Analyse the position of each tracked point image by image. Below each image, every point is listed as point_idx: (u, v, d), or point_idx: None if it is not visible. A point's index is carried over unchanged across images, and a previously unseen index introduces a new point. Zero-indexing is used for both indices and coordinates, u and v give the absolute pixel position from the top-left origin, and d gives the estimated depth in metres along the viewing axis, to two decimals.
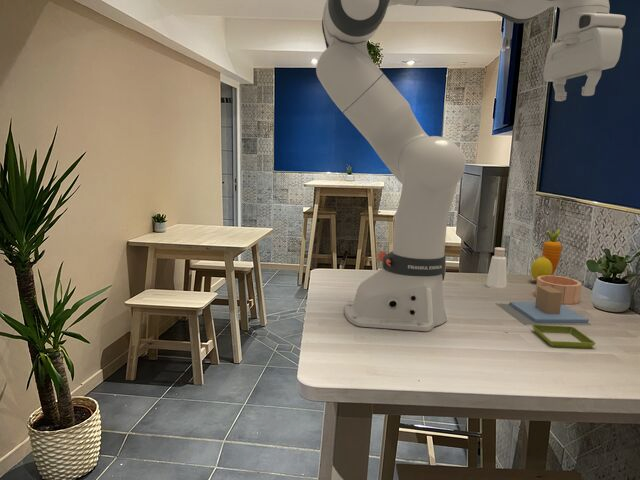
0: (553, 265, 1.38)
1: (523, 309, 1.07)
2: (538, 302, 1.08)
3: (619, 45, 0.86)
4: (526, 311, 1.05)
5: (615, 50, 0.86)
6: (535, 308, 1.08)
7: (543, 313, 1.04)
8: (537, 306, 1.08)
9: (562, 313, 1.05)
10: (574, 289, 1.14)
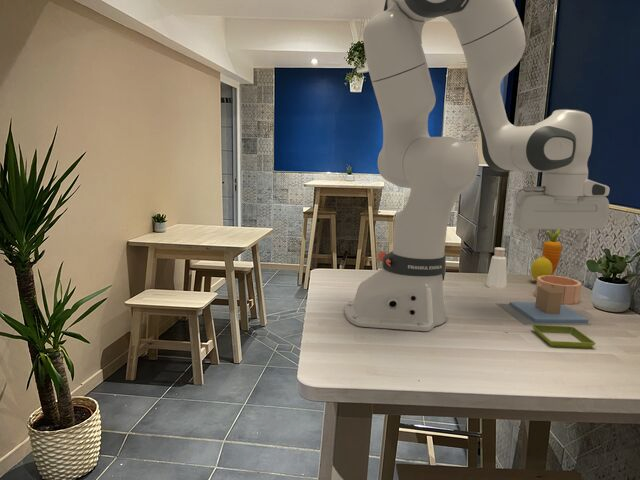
0: (553, 265, 1.38)
1: (523, 309, 1.07)
2: (538, 302, 1.08)
3: None
4: (526, 311, 1.05)
5: None
6: (535, 308, 1.08)
7: (543, 313, 1.04)
8: (537, 306, 1.08)
9: (562, 313, 1.05)
10: (574, 289, 1.14)
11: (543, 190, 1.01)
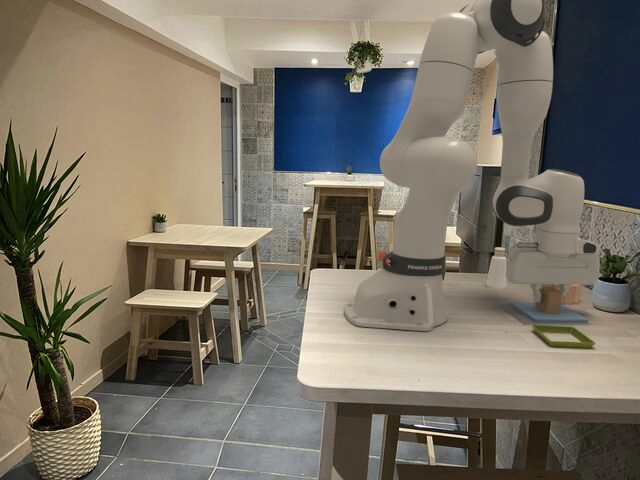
0: None
1: (523, 309, 1.07)
2: None
3: None
4: (526, 311, 1.05)
5: None
6: (535, 308, 1.08)
7: (543, 313, 1.04)
8: (537, 306, 1.08)
9: (562, 313, 1.05)
10: (574, 289, 1.14)
11: (536, 247, 1.03)
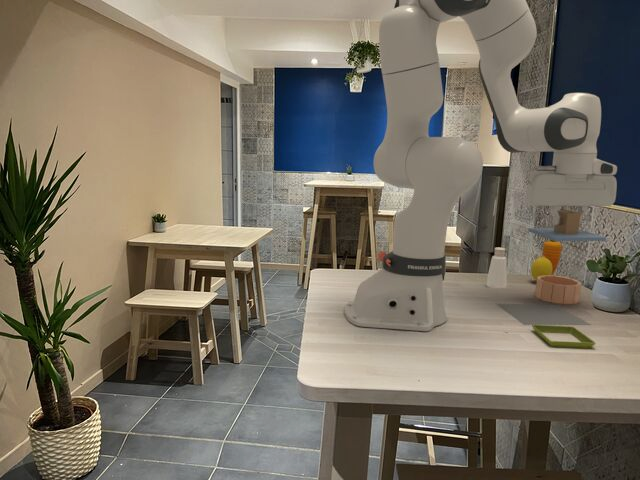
0: (553, 265, 1.38)
1: (542, 232, 1.11)
2: (557, 225, 1.12)
3: None
4: (545, 233, 1.10)
5: None
6: (554, 231, 1.12)
7: (562, 234, 1.09)
8: (556, 230, 1.12)
9: (580, 234, 1.09)
10: (574, 289, 1.14)
11: (554, 169, 1.07)
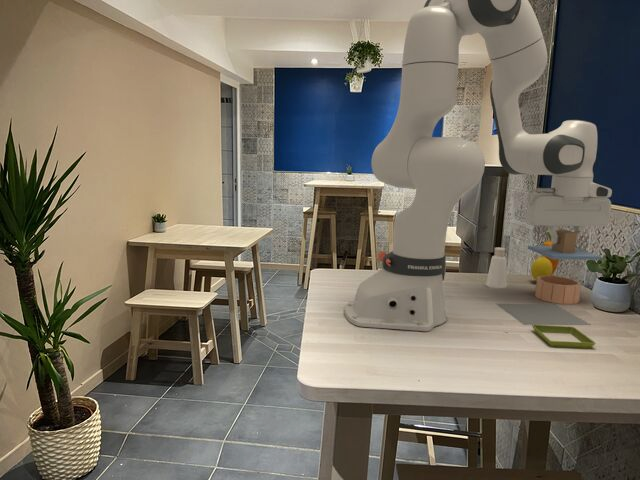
0: (553, 265, 1.38)
1: (541, 250, 1.17)
2: (554, 244, 1.18)
3: None
4: (544, 251, 1.16)
5: None
6: (552, 249, 1.18)
7: (560, 252, 1.15)
8: (554, 248, 1.18)
9: (577, 252, 1.15)
10: (574, 289, 1.14)
11: (553, 192, 1.13)
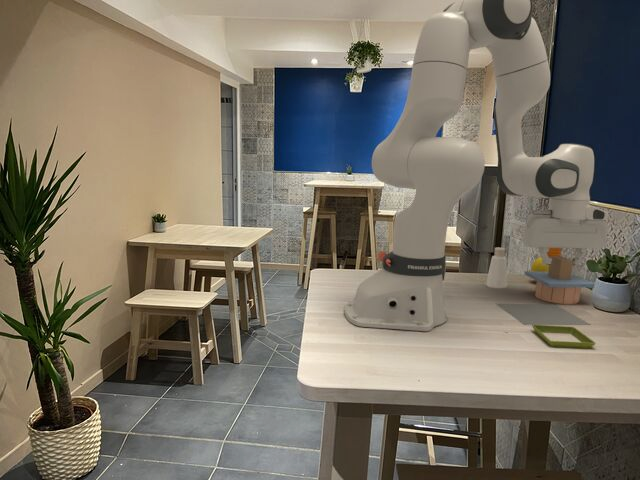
0: None
1: (537, 276, 1.18)
2: (551, 270, 1.19)
3: None
4: (540, 278, 1.17)
5: None
6: (548, 276, 1.19)
7: (556, 279, 1.16)
8: (550, 274, 1.19)
9: (573, 279, 1.16)
10: (574, 289, 1.14)
11: (550, 214, 1.14)
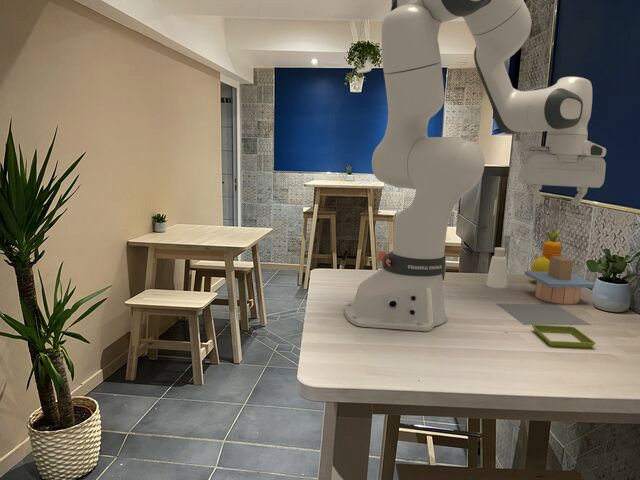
0: None
1: (537, 276, 1.18)
2: (551, 270, 1.19)
3: None
4: (540, 278, 1.17)
5: None
6: (548, 276, 1.19)
7: (556, 279, 1.16)
8: (550, 274, 1.19)
9: (573, 279, 1.16)
10: (574, 289, 1.14)
11: (547, 150, 1.12)
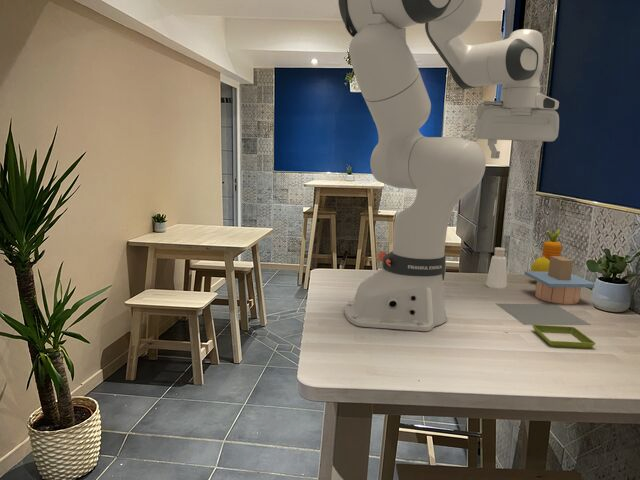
0: None
1: (537, 276, 1.18)
2: (551, 270, 1.19)
3: None
4: (540, 278, 1.17)
5: None
6: (548, 276, 1.19)
7: (556, 279, 1.16)
8: (550, 274, 1.19)
9: (573, 279, 1.16)
10: (574, 289, 1.14)
11: (501, 104, 1.14)
